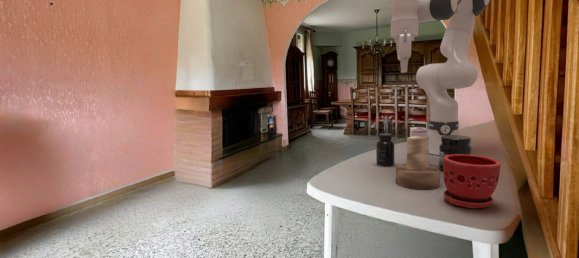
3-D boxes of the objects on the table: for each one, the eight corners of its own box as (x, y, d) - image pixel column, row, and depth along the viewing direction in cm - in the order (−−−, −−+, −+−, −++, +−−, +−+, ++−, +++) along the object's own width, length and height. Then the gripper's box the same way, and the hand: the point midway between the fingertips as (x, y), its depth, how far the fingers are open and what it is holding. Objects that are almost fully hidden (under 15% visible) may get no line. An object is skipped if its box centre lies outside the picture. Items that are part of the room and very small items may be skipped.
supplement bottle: (381, 161, 137) (382, 132, 135) (397, 164, 132) (398, 133, 131) (372, 164, 132) (372, 134, 131) (388, 167, 128) (389, 136, 126)
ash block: (406, 169, 107) (407, 138, 106) (412, 165, 111) (412, 135, 109) (422, 171, 104) (423, 139, 102) (427, 168, 108) (428, 136, 106)
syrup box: (427, 167, 126) (428, 129, 124) (410, 167, 127) (411, 129, 125) (424, 164, 131) (425, 127, 129) (408, 163, 132) (409, 127, 130)
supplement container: (476, 170, 121) (478, 136, 119) (462, 175, 114) (464, 140, 113) (447, 164, 129) (448, 133, 127) (432, 170, 123) (433, 137, 121)
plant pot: (473, 215, 81) (476, 167, 80) (431, 199, 93) (432, 156, 92) (509, 206, 87) (512, 160, 85) (464, 191, 99) (466, 151, 97)
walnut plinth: (395, 177, 116) (396, 162, 115) (437, 179, 112) (437, 164, 111) (395, 188, 104) (396, 173, 103) (442, 191, 100) (442, 175, 99)
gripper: (416, 25, 104) (415, 71, 106) (412, 34, 123) (411, 72, 125) (394, 27, 105) (394, 72, 107) (394, 35, 125) (393, 73, 127)
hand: (403, 72), depth 116 cm, fingers open, 8 cm apart
